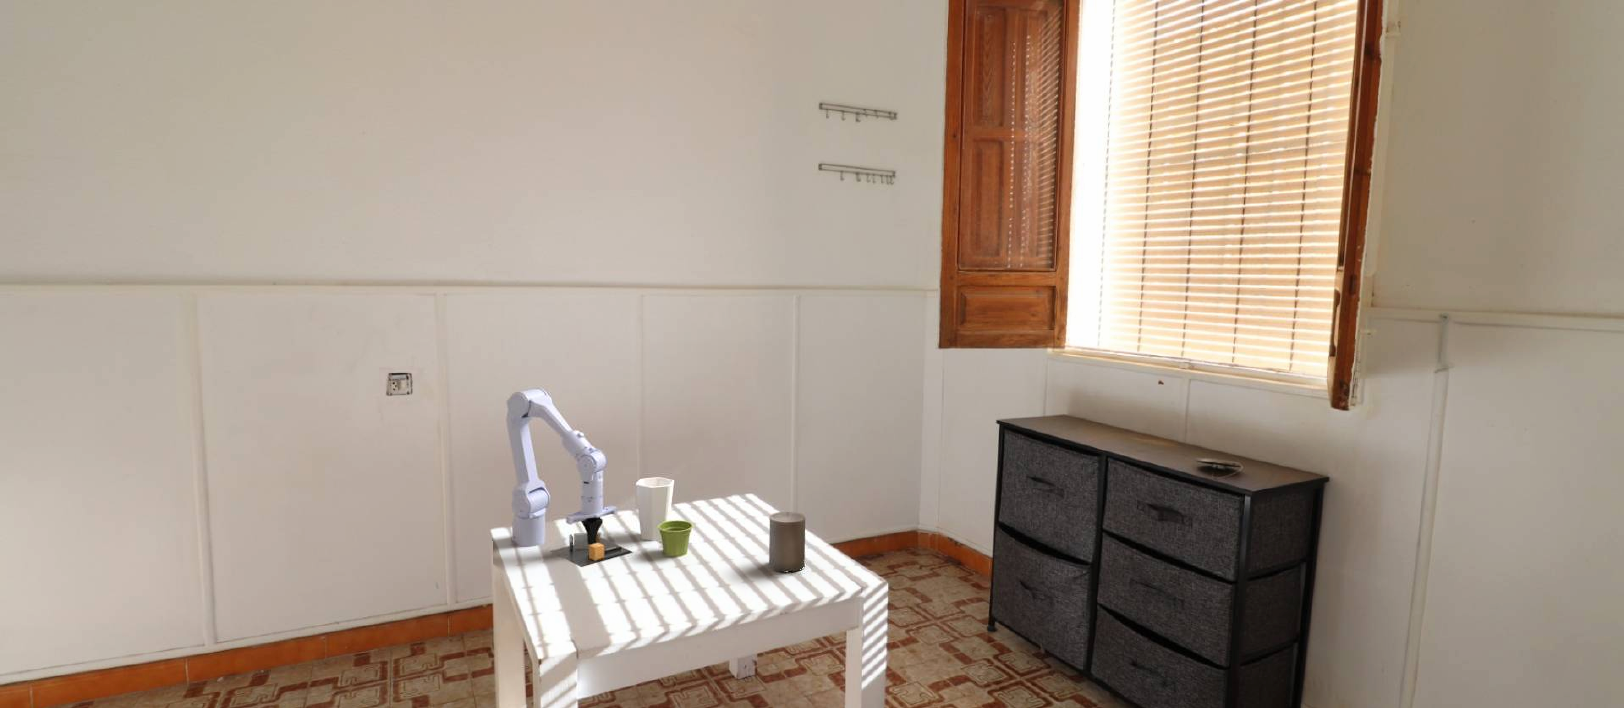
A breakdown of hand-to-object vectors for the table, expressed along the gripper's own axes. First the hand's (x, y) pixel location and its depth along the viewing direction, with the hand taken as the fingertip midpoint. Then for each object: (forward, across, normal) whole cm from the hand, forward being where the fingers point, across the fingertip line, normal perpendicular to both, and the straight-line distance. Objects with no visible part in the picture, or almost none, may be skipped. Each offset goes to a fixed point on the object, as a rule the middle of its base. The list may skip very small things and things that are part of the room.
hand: (591, 544), depth 217 cm
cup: (+3, +20, -2) cm, 20 cm away
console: (+3, 0, 0) cm, 3 cm away
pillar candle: (+3, +33, -42) cm, 54 cm away
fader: (+2, -2, -6) cm, 7 cm away
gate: (+2, 0, +2) cm, 3 cm away
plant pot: (+3, +16, -16) cm, 23 cm away
